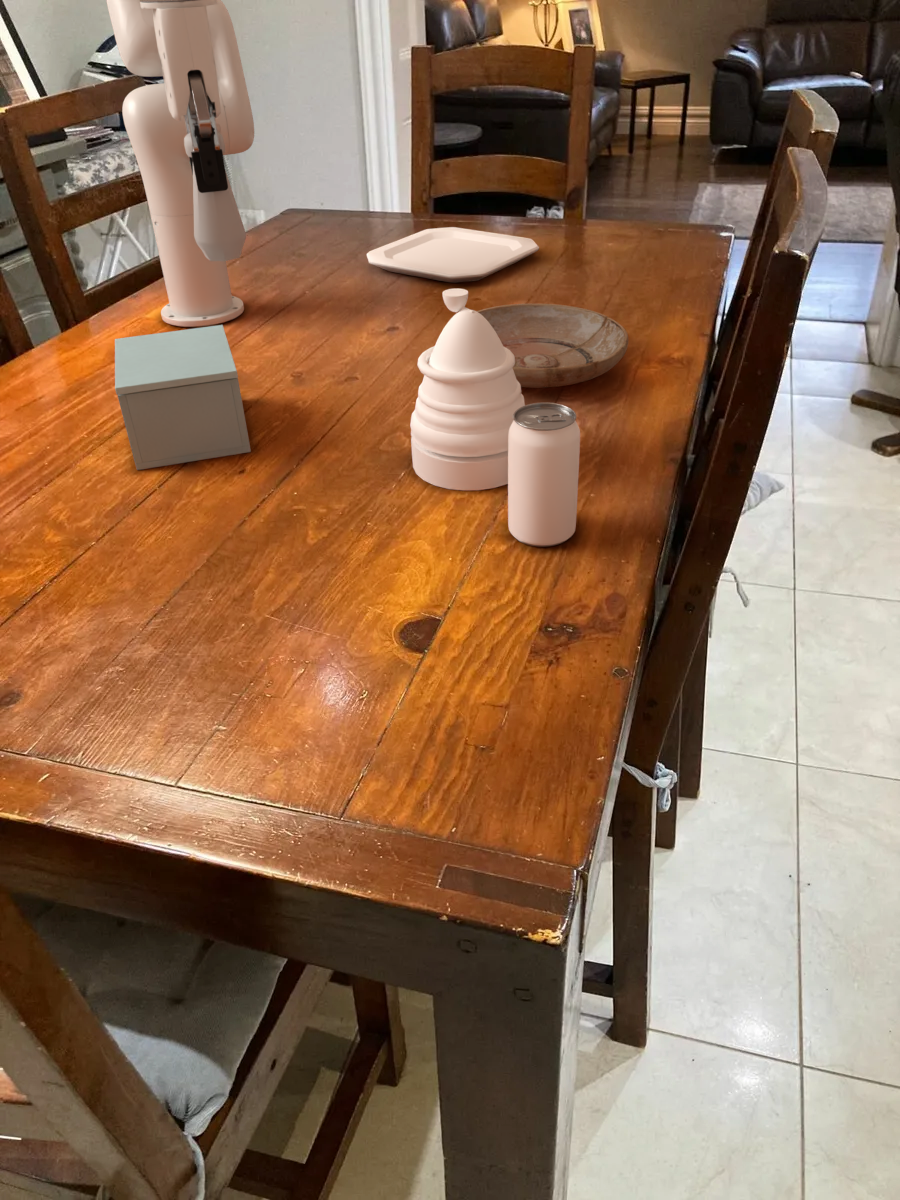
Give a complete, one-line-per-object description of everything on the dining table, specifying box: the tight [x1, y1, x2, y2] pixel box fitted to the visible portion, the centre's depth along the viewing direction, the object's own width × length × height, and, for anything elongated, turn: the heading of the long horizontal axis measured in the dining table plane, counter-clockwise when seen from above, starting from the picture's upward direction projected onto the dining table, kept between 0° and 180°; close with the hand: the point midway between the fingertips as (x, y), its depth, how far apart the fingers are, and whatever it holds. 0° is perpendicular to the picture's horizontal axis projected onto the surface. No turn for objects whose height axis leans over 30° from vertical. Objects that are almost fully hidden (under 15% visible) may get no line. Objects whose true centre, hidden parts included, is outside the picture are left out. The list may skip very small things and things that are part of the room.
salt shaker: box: [184, 132, 247, 262], centre depth 104 cm, size 6×6×13 cm
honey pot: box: [409, 288, 526, 491], centre depth 97 cm, size 13×13×18 cm
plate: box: [366, 226, 540, 284], centre depth 163 cm, size 25×25×2 cm
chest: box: [117, 377, 252, 471], centre depth 108 cm, size 16×13×9 cm
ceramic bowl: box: [475, 303, 629, 389], centre depth 121 cm, size 23×24×5 cm
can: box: [507, 402, 581, 548], centre depth 86 cm, size 6×6×12 cm
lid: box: [114, 324, 239, 396], centre depth 105 cm, size 16×13×1 cm
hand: (210, 184), depth 103 cm, fingers closed on salt shaker, 4 cm apart
